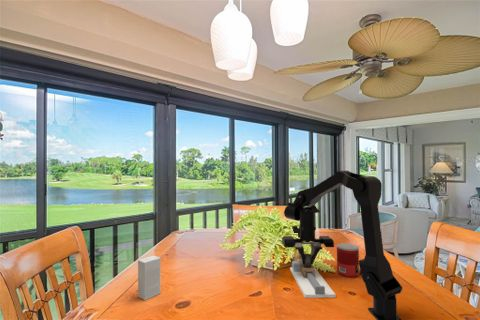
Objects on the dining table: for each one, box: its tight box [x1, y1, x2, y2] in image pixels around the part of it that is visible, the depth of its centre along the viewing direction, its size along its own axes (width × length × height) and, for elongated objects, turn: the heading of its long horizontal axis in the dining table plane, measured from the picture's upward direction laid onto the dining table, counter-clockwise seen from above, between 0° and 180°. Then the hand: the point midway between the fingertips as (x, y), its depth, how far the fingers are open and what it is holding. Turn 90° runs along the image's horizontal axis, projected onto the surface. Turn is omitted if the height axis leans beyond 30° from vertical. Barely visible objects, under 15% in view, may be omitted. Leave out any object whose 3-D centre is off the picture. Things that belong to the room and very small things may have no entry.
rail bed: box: [289, 260, 337, 299], centre depth 96 cm, size 23×10×4 cm, turn 1°
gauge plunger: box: [295, 252, 301, 260], centre depth 105 cm, size 2×2×2 cm
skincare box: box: [137, 255, 162, 301], centre depth 87 cm, size 6×4×12 cm
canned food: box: [336, 243, 360, 279], centre depth 104 cm, size 8×8×11 cm
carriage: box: [300, 253, 316, 277], centre depth 100 cm, size 5×4×8 cm
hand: (307, 264), depth 100 cm, fingers closed on carriage, 3 cm apart
